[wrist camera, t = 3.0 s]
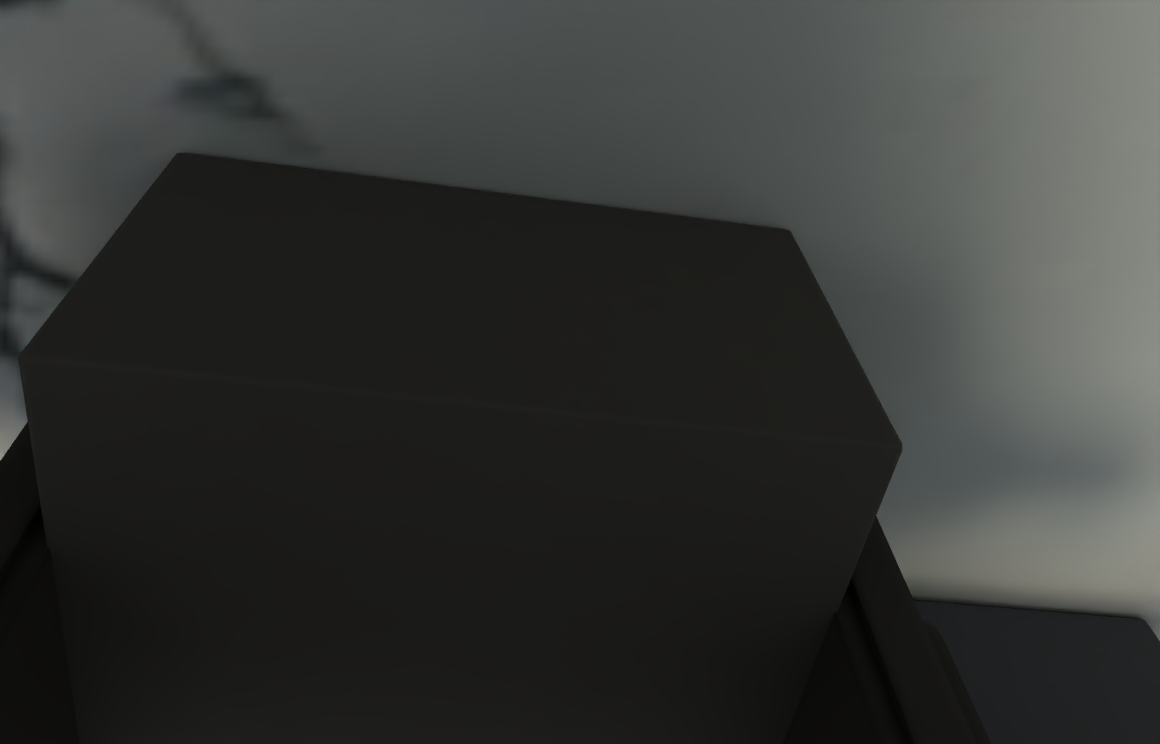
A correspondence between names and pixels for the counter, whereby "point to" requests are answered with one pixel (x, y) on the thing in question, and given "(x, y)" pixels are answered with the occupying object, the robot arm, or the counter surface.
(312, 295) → the dark tabbed block
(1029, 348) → the counter surface
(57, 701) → the robot arm
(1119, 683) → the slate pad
